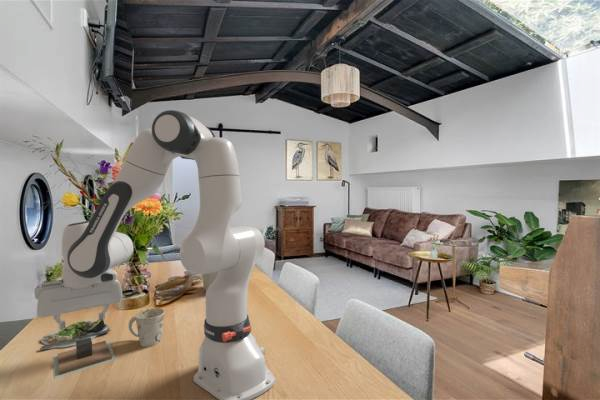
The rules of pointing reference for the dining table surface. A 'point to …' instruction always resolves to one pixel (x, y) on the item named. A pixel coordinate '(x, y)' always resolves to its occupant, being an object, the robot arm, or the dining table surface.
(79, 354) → the walnut lid
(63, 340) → the salad plate
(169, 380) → the dining table surface
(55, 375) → the green mat
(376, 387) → the dining table surface
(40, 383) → the dining table surface
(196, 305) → the dining table surface
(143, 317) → the mug
